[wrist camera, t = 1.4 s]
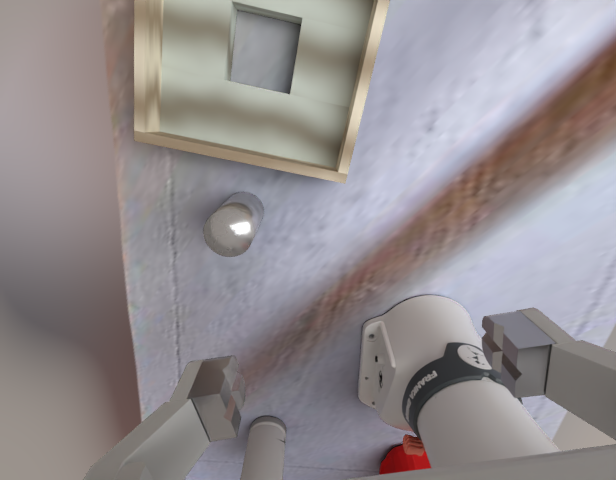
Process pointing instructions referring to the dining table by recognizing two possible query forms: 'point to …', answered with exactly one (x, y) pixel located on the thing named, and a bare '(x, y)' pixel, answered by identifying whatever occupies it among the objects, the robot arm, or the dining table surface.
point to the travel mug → (265, 450)
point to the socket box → (248, 99)
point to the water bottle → (403, 461)
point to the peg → (234, 224)
